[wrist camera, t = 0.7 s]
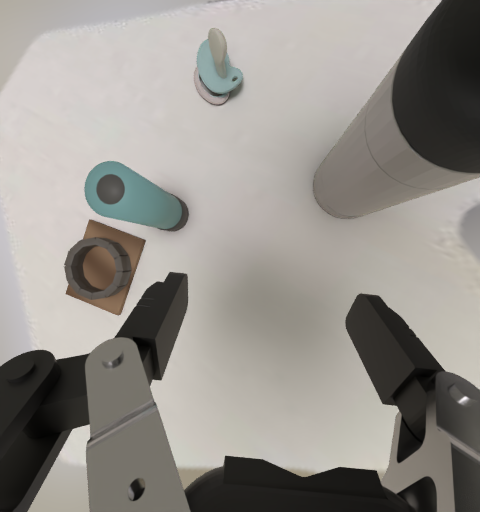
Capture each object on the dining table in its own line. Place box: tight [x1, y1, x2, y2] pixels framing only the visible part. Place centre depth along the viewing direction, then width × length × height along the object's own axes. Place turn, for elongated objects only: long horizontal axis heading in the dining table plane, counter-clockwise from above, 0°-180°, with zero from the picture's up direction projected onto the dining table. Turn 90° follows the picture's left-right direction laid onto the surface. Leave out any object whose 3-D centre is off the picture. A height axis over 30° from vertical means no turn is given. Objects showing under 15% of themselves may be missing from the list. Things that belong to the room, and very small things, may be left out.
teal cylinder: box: [85, 161, 189, 231], centre depth 25 cm, size 5×5×13 cm
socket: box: [64, 220, 146, 315], centre depth 31 cm, size 12×9×3 cm
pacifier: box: [194, 28, 243, 105], centre depth 27 cm, size 7×6×6 cm
